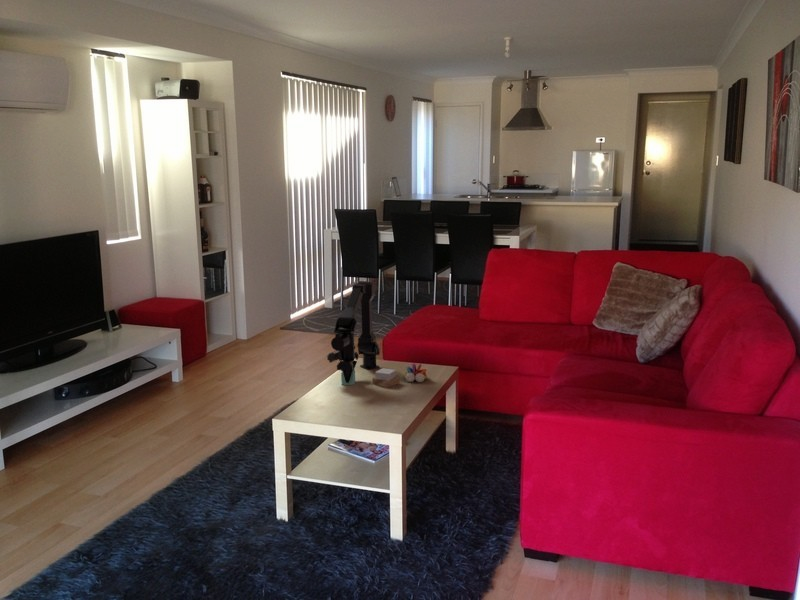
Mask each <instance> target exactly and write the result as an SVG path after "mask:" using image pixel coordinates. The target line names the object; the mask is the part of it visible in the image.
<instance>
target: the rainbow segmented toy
mask: <svg viewBox="0 0 800 600" xmlns="http://www.w3.org/2000/svg"><path fill="white" fill-rule="evenodd" d="M421 368H422V364H421V363H420V364H419V365H418V366H416V363H412V365H411V367H410V366H407V367H406V371H407V372H405V373H404V377H405V379H406V381H407V382H408V383H413V382H414V381H416V383H422V382H424V381H425V380H426V379H428V375H427V368H422V369H421Z"/></svg>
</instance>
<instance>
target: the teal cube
mask: <svg viewBox="0 0 800 600" xmlns="http://www.w3.org/2000/svg"><path fill="white" fill-rule="evenodd" d="M340 376H341V377H340V378H341V386H355V383H356V369H354V370H353V372H352V374H351V377H350V380H349V383H346V381H345V377H344V374H343V372H342V371H341V374H340Z"/></svg>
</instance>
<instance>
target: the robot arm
mask: <svg viewBox="0 0 800 600" xmlns="http://www.w3.org/2000/svg"><path fill="white" fill-rule="evenodd" d="M351 289H352V290H351V292H350V296H349V298H348V301H347V304H346V306H345V309H343V310H342V311H341V312H340V313H339V315H338V317H337V319H336V323H335V327H334V330H333V333H335V336H334V337H333V338H332V340H331V342H330V344H331V347H332V349H333V350H334V351H331V352H329V353H328V354H327V355H326V357H327V360H328V362H329V363H333V362H334V361H338V360H339V362H338V363H337V364H336V370H337V371H341V373H342V372H343V374H344V377H345V381H346V383H349V380H350V377H351V374H352V372H353V370H356V369H355V368H356V365H357V363H358V360H359V355H362V364H360V365H359V366H360V368H363V369H365V370H370V369H375V368H379V367H380V365H377V356H379V355H380V353H381V347H380V346H379V344H378V342H377V337H376V335H375V334H374V332H373V299H374V298H375V296H376V291H377V284H376V283H375V282H374V281H371V280H368V281H367V280H359V281H358V282H357V283H354V284H353V285H352V288H351ZM360 305H361V306H360ZM359 307H361V309H360V310H361V311H360V313H361V317H360V318H361V334H360V336H359V337H358V338H357V351H358V352H357V351H355V349H356V345H355V332H356V328H357V325H358V318H357V312H358V309H359Z"/></svg>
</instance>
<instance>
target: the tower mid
mask: <svg viewBox="0 0 800 600" xmlns="http://www.w3.org/2000/svg"><path fill="white" fill-rule="evenodd" d="M374 373H375V374H374V376H375V377H374V378H375V379H378V380H385V381H390V380H392V379H393V378H395V377H397V369H391V368H384V367H383V368H380V369H378V370H376V371H375V372H374Z"/></svg>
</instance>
